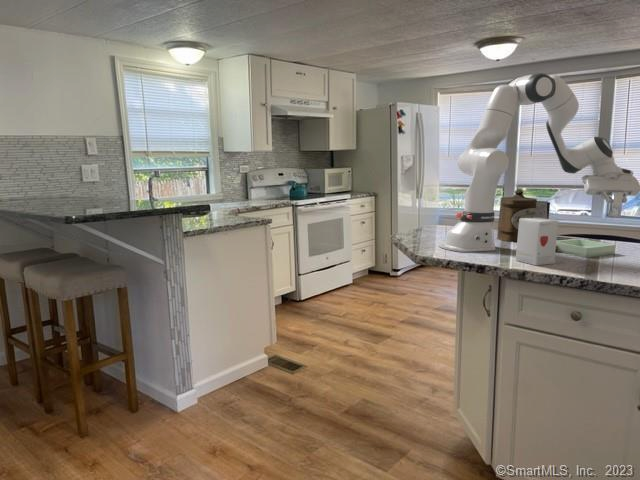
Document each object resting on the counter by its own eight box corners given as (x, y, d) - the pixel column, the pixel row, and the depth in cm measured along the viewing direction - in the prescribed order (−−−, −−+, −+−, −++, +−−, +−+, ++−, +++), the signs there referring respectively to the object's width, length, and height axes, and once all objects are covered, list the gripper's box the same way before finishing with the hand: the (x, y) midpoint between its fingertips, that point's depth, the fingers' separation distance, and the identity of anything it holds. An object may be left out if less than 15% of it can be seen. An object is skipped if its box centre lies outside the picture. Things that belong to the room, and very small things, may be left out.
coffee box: (547, 238, 209) (550, 202, 207) (532, 237, 211) (535, 201, 208) (542, 235, 218) (545, 200, 215) (527, 234, 220) (530, 200, 217)
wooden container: (518, 243, 196) (522, 191, 192) (490, 238, 209) (493, 188, 205) (541, 240, 203) (545, 190, 199) (512, 235, 216) (516, 188, 212)
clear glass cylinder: (616, 217, 183) (619, 192, 181) (605, 216, 186) (608, 191, 185) (622, 217, 184) (626, 192, 183) (612, 216, 188) (615, 191, 186)
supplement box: (535, 266, 156) (539, 221, 153) (514, 260, 164) (518, 218, 161) (555, 263, 159) (559, 220, 157) (533, 258, 167) (537, 216, 165)
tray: (586, 257, 169) (587, 248, 168) (550, 250, 182) (550, 241, 182) (614, 254, 176) (615, 244, 175) (577, 247, 189) (578, 238, 188)
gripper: (583, 170, 190) (592, 196, 182) (636, 170, 188) (648, 197, 180) (577, 180, 195) (586, 206, 187) (629, 181, 193) (639, 207, 186)
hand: (617, 201), depth 184 cm, fingers closed on clear glass cylinder, 4 cm apart
